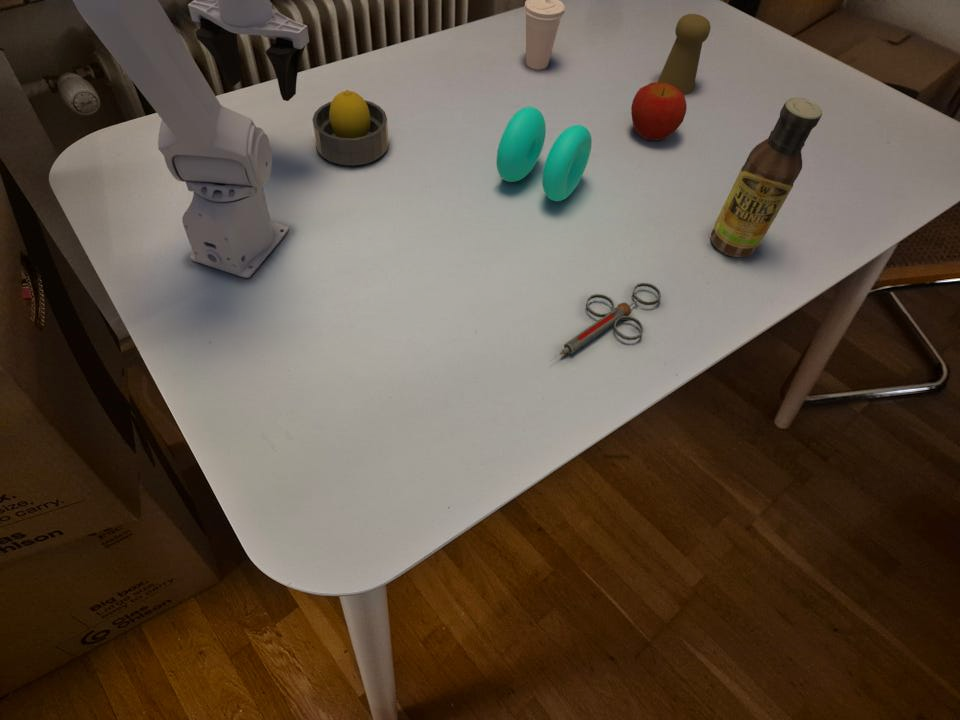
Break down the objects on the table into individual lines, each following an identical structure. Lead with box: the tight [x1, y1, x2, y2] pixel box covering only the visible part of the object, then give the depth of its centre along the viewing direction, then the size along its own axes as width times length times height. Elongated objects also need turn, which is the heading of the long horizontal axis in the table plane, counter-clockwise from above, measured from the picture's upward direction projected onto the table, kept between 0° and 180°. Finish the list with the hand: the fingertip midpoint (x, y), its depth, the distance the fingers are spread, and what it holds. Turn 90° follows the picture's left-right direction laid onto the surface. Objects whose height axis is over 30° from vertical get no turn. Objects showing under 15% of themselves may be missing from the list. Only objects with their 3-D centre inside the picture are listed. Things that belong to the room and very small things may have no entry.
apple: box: [630, 81, 688, 141], centre depth 98 cm, size 8×8×8 cm
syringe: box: [550, 282, 662, 362], centre depth 76 cm, size 8×18×2 cm, turn 131°
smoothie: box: [523, 0, 565, 71], centre depth 107 cm, size 6×6×14 cm
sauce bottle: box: [710, 97, 823, 258], centre depth 79 cm, size 6×6×20 cm
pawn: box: [657, 13, 711, 96], centre depth 106 cm, size 6×6×11 cm
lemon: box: [329, 89, 370, 138], centre depth 91 cm, size 6×6×8 cm
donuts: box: [496, 106, 592, 202], centre depth 88 cm, size 10×10×10 cm
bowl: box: [311, 99, 389, 166], centre depth 93 cm, size 10×10×4 cm
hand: (262, 89), depth 84 cm, fingers open, 7 cm apart
